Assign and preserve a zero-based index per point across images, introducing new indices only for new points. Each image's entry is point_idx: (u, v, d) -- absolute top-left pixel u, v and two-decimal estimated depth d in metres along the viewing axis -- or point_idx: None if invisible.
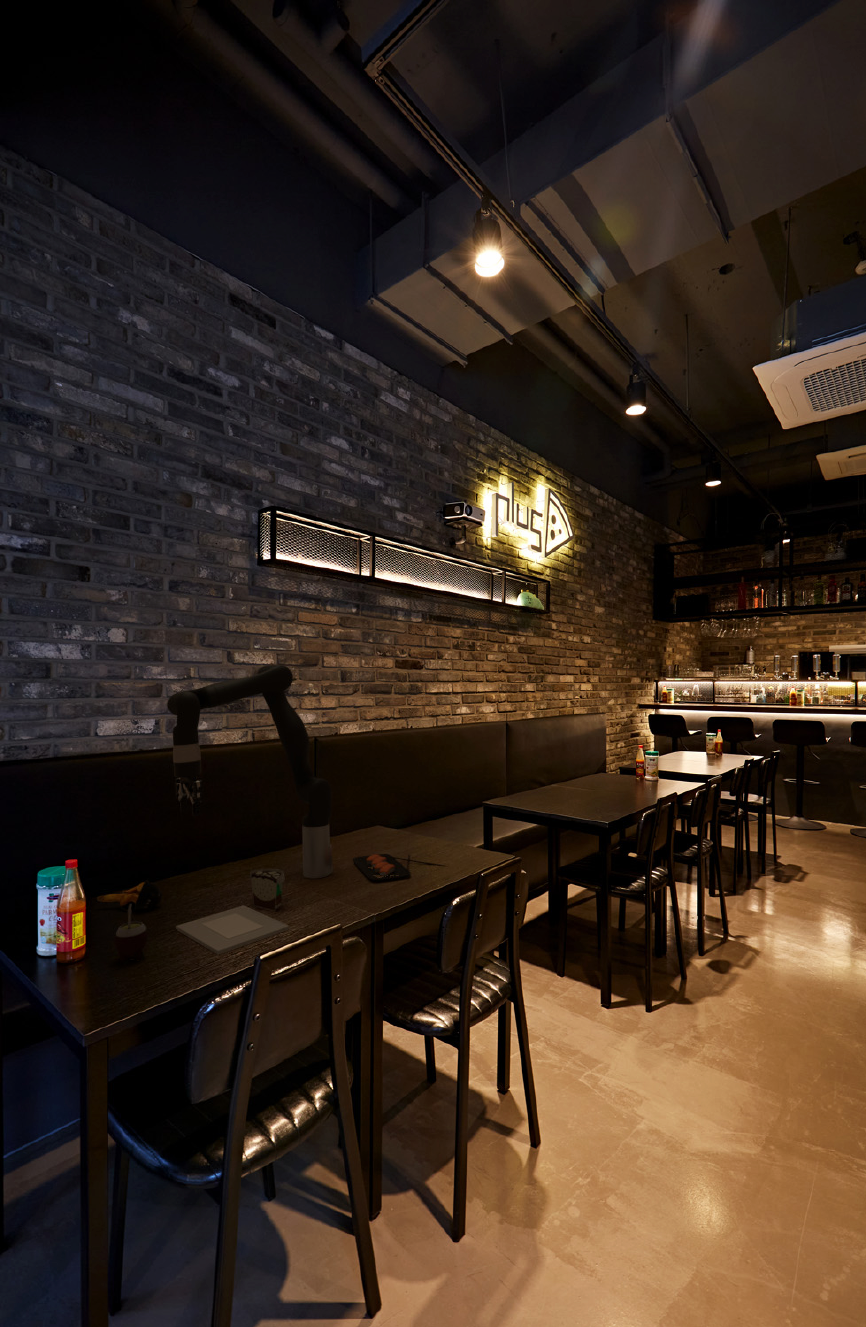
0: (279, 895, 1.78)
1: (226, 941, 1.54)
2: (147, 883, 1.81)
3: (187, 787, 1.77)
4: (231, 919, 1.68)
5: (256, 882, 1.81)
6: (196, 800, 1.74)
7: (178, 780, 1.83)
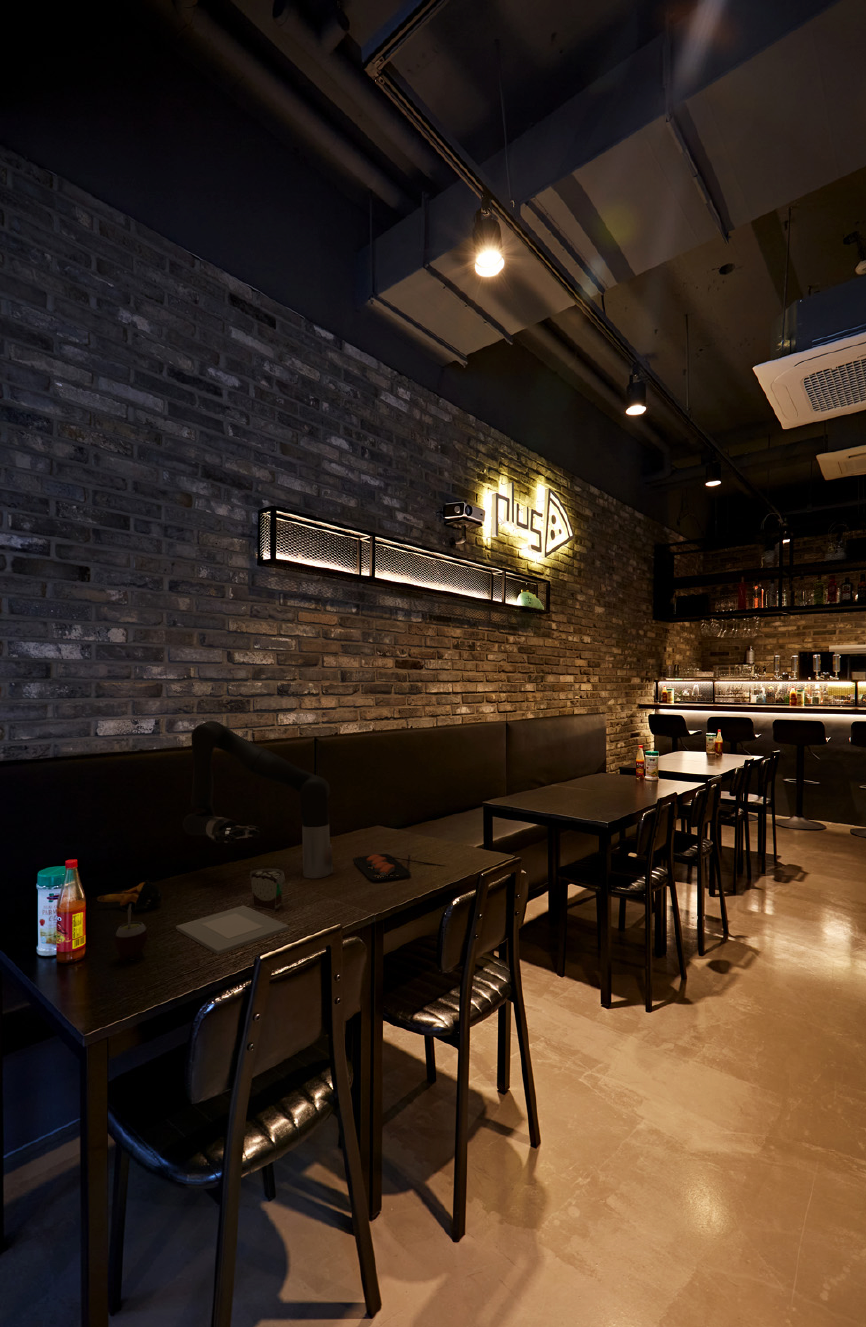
0: (279, 895, 1.78)
1: (226, 941, 1.54)
2: (147, 883, 1.81)
3: None
4: (231, 919, 1.68)
5: (256, 882, 1.81)
6: (218, 842, 1.90)
7: None
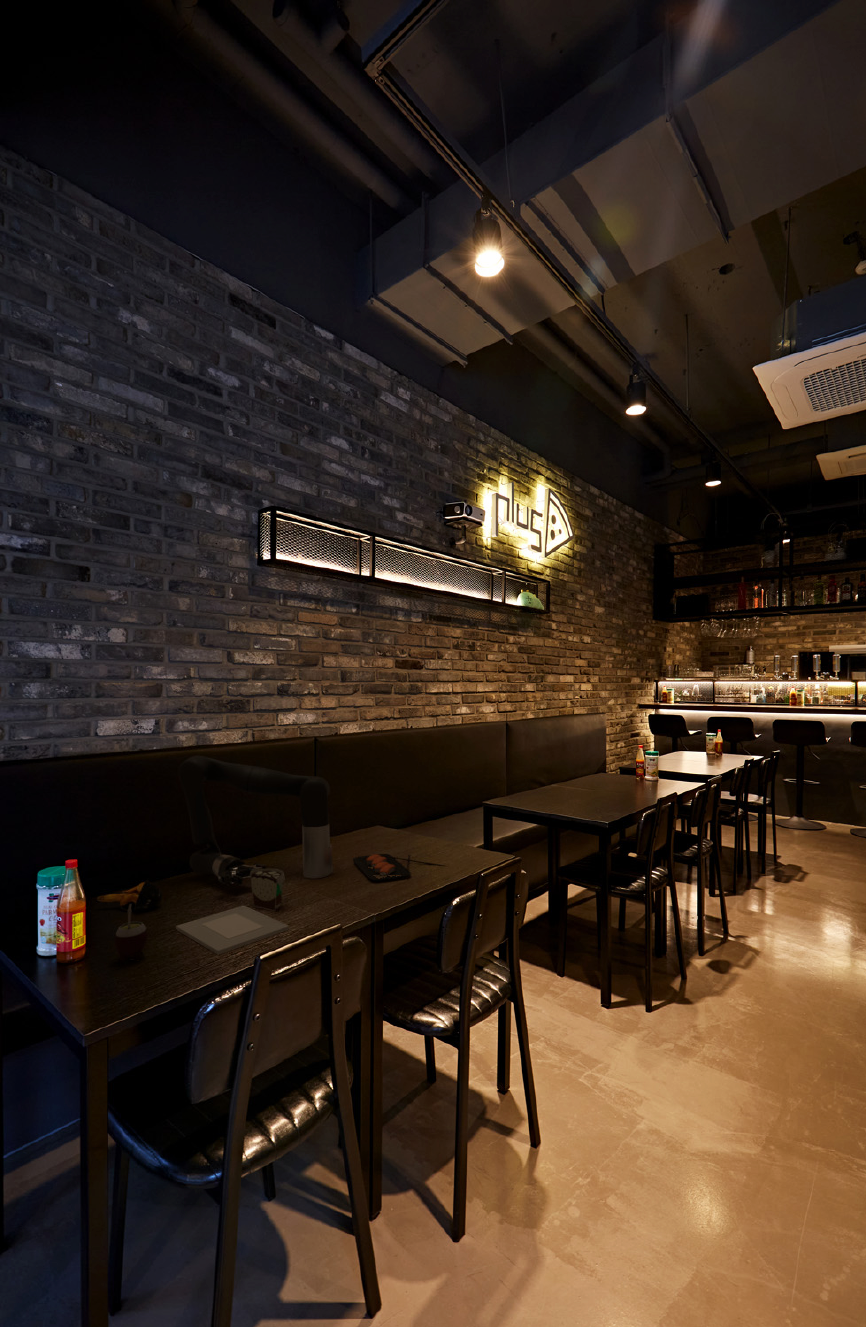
0: (279, 895, 1.78)
1: (226, 941, 1.54)
2: (147, 883, 1.81)
3: None
4: (231, 919, 1.68)
5: (256, 882, 1.81)
6: (225, 883, 1.87)
7: None
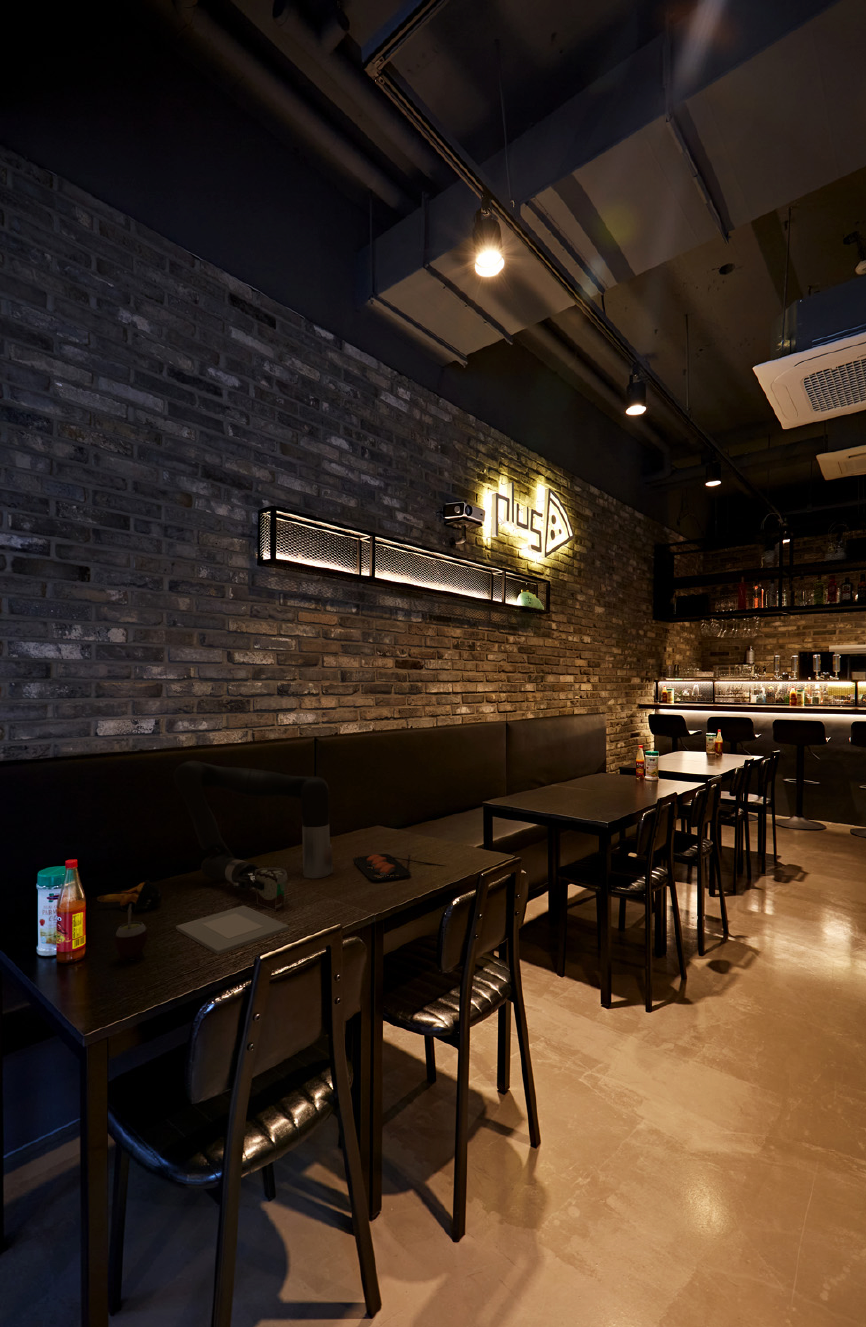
0: (280, 895, 1.78)
1: (226, 941, 1.54)
2: (147, 883, 1.81)
3: None
4: (231, 919, 1.68)
5: (260, 880, 1.82)
6: (246, 888, 1.82)
7: None
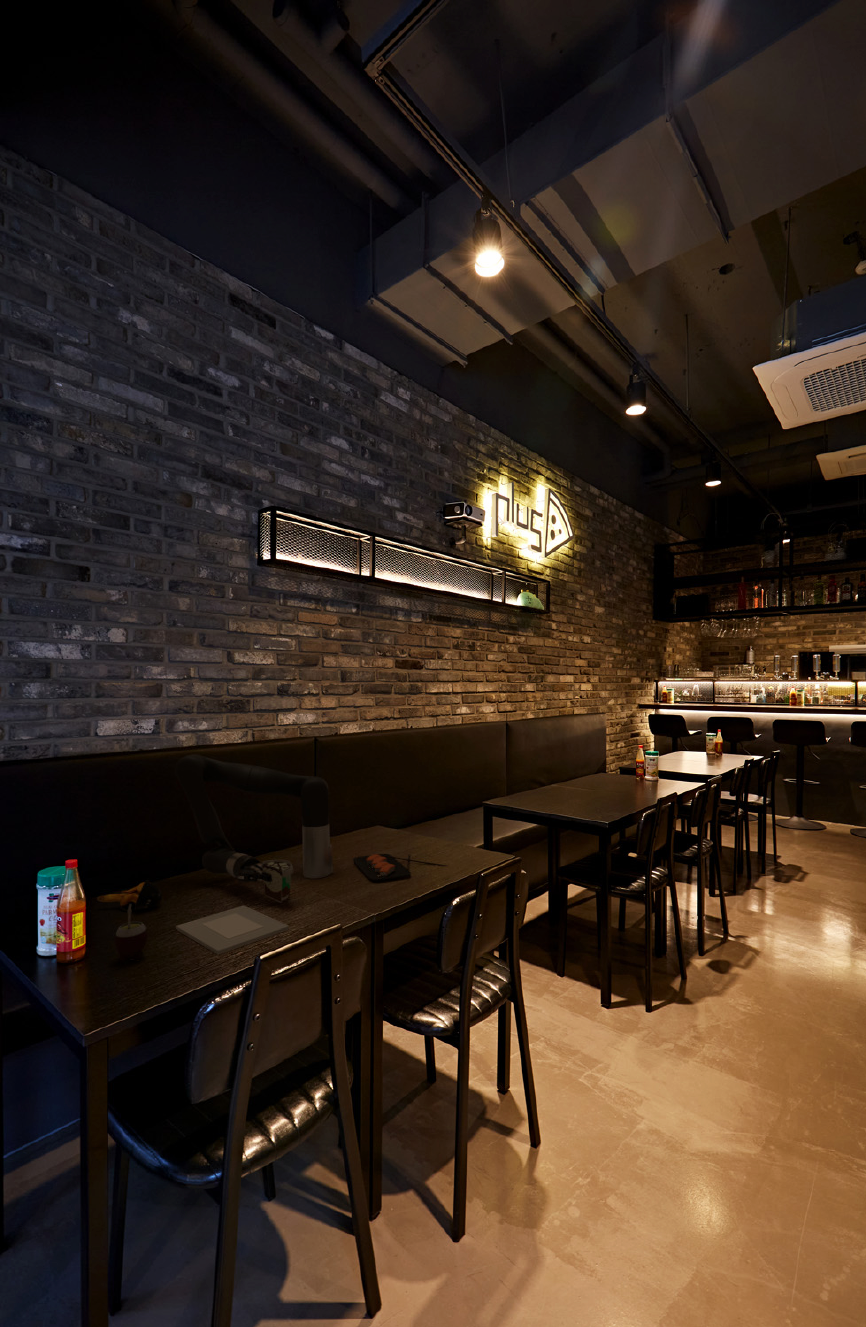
0: (286, 887, 1.79)
1: (226, 941, 1.54)
2: (147, 883, 1.81)
3: (251, 878, 1.87)
4: (231, 919, 1.68)
5: (266, 872, 1.84)
6: (254, 880, 1.83)
7: None
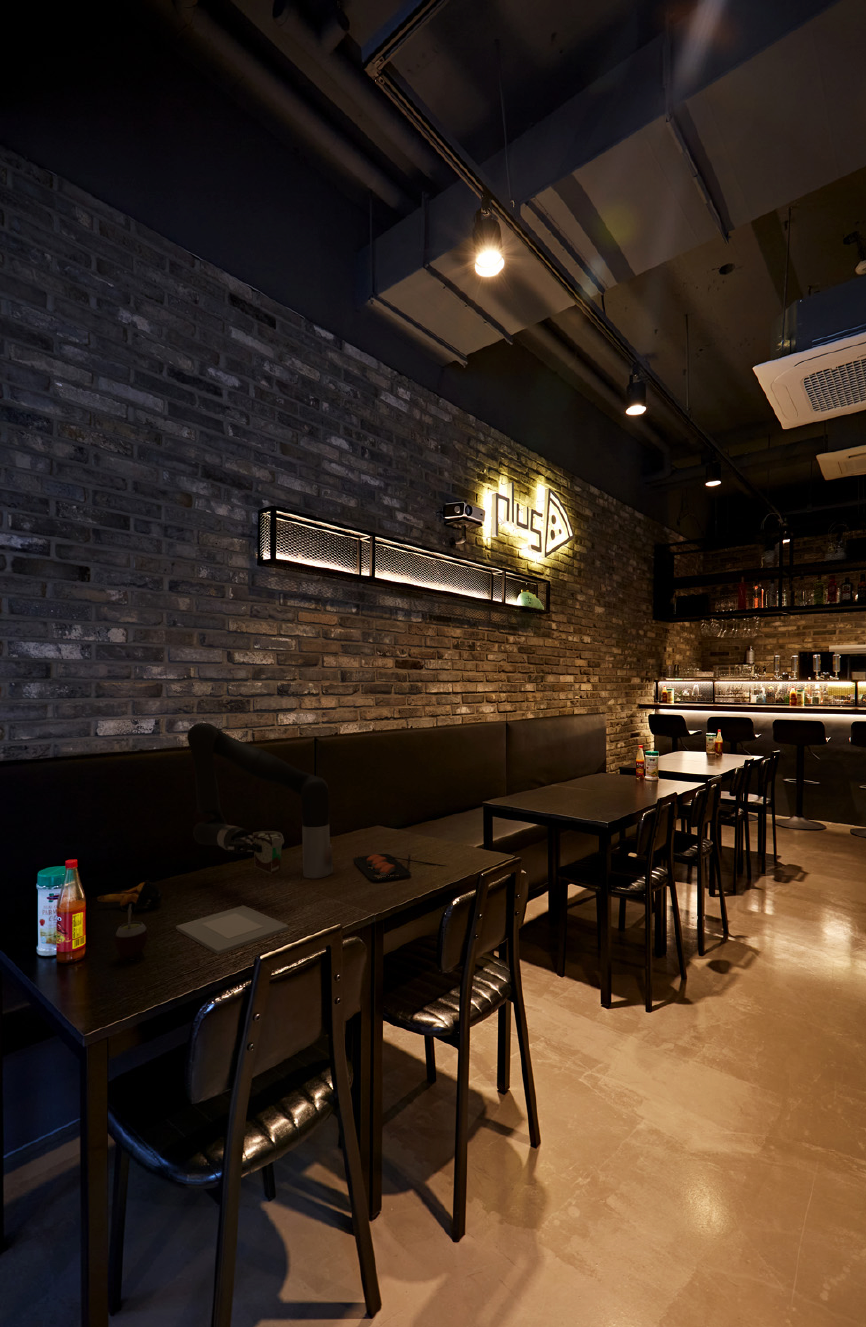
0: (276, 858, 1.76)
1: (226, 941, 1.54)
2: (147, 883, 1.81)
3: (242, 849, 1.84)
4: (231, 919, 1.68)
5: (257, 843, 1.81)
6: (244, 851, 1.80)
7: None
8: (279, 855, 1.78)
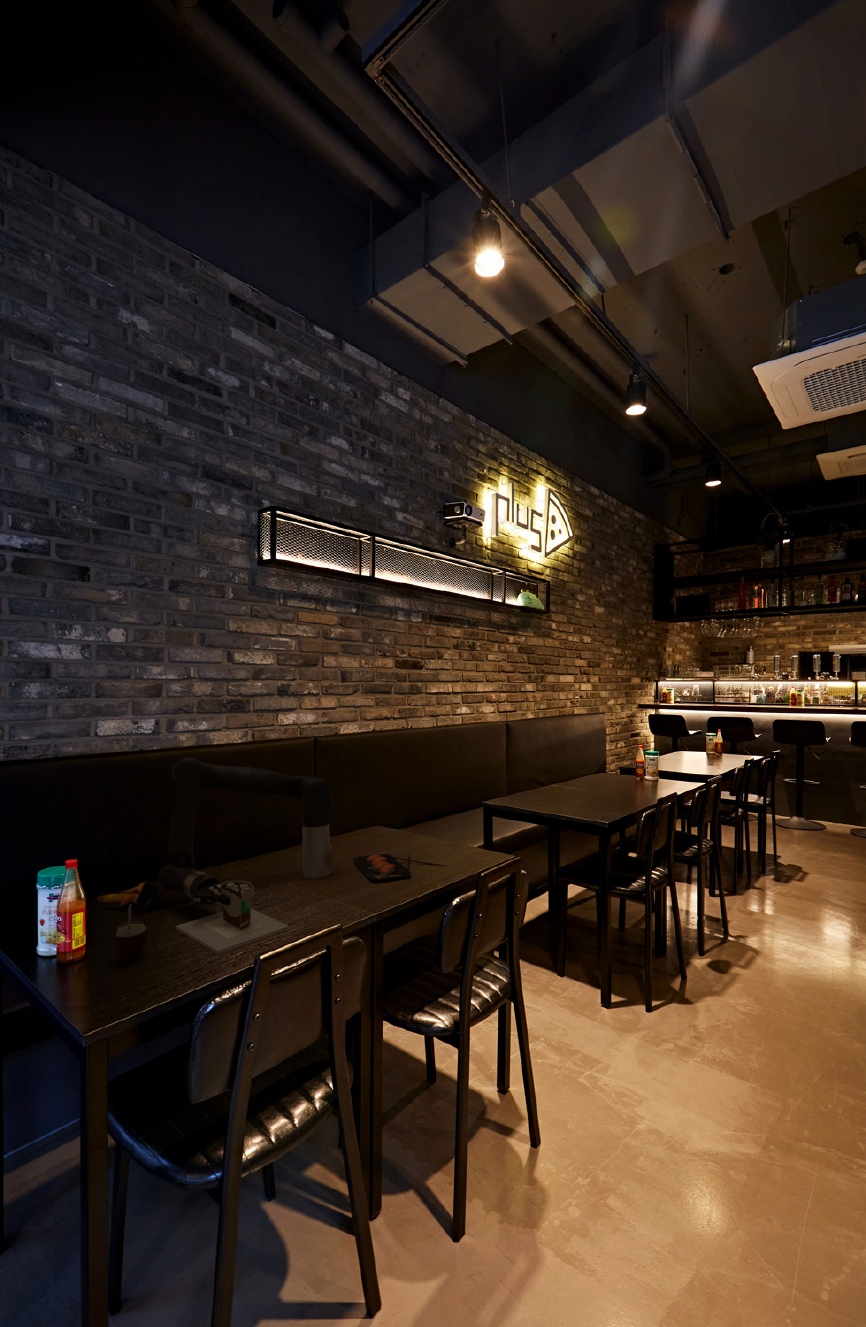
0: (245, 912, 1.61)
1: (226, 941, 1.54)
2: (147, 883, 1.81)
3: (209, 900, 1.69)
4: None
5: None
6: (211, 903, 1.65)
7: None
8: (249, 908, 1.63)
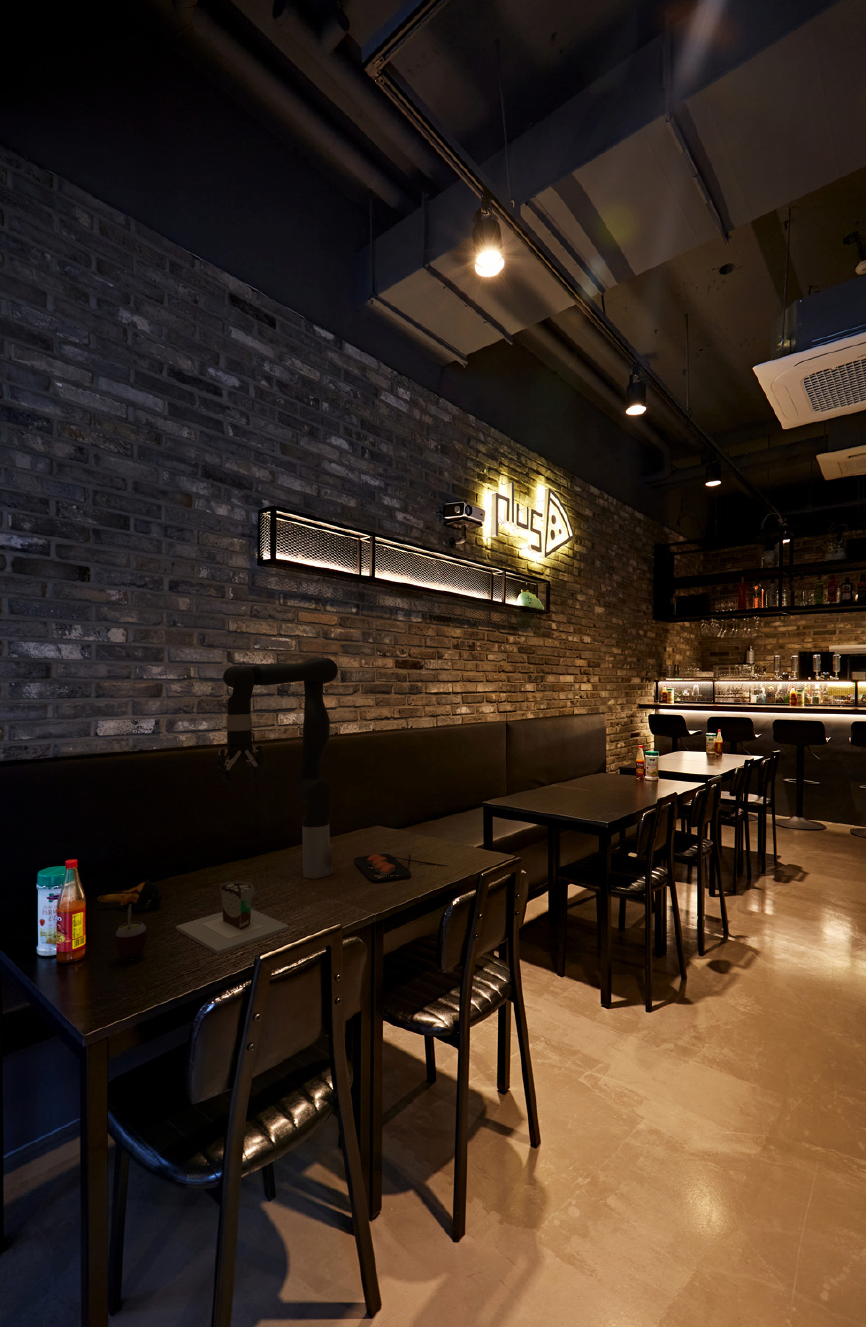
0: (245, 912, 1.62)
1: (226, 941, 1.54)
2: (147, 883, 1.81)
3: None
4: None
5: (225, 896, 1.66)
6: (217, 766, 1.87)
7: None
8: (249, 908, 1.63)
